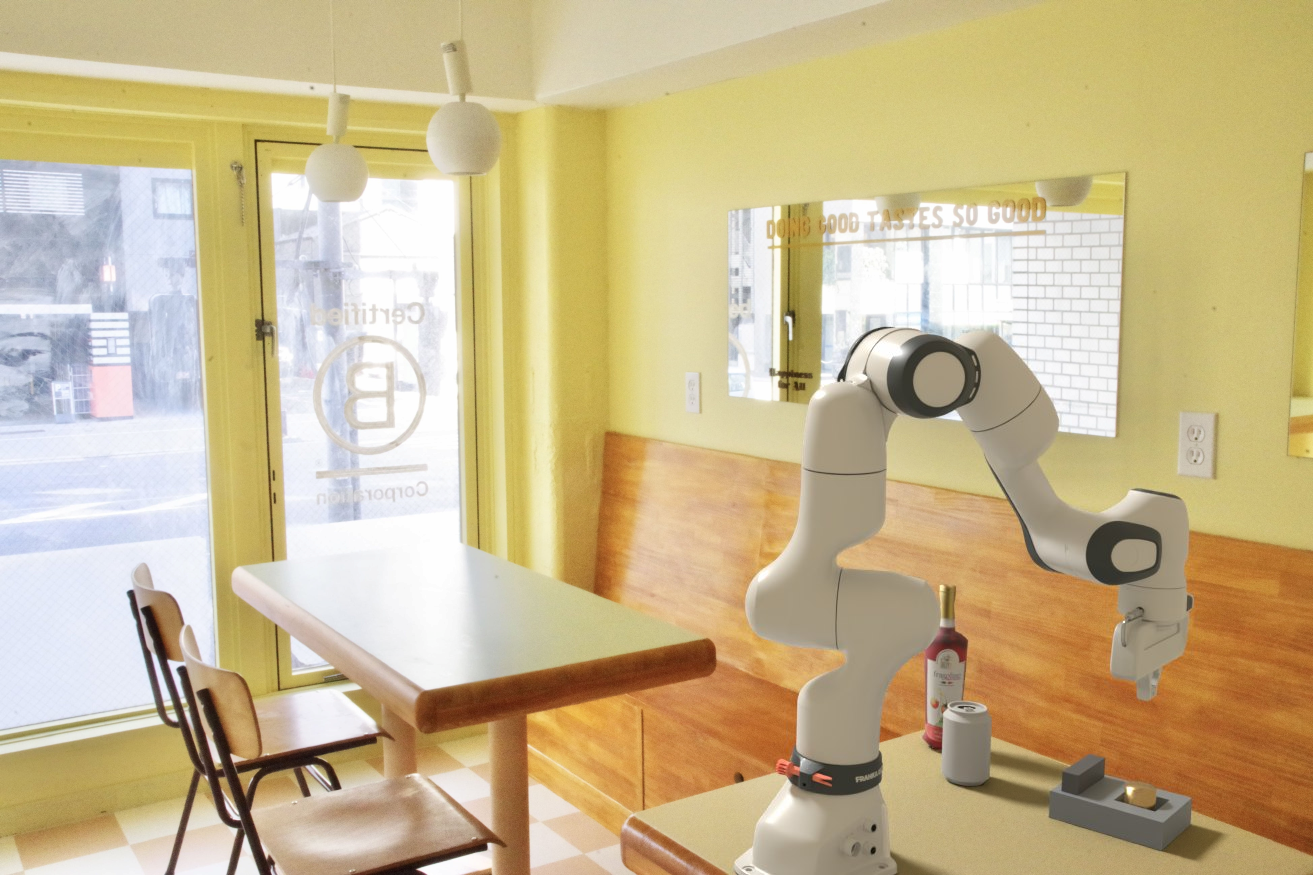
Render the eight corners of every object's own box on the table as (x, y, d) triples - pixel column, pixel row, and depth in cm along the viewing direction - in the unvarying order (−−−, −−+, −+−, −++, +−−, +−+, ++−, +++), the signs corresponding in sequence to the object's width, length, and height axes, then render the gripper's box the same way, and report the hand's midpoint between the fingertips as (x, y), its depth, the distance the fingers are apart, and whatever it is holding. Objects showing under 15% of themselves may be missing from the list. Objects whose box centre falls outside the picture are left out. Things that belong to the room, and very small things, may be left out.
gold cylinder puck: (1148, 835, 161) (1150, 794, 160) (1118, 827, 164) (1120, 786, 163) (1159, 826, 164) (1160, 786, 163) (1129, 818, 167) (1131, 778, 166)
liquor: (923, 752, 193) (928, 589, 191) (918, 737, 200) (923, 581, 198) (967, 754, 192) (973, 591, 190) (960, 739, 199) (966, 582, 197)
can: (984, 771, 185) (987, 699, 184) (993, 789, 177) (996, 713, 176) (937, 768, 185) (940, 697, 184) (944, 786, 178) (947, 711, 177)
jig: (1161, 850, 156) (1164, 801, 155) (1048, 816, 167) (1050, 770, 166) (1190, 824, 165) (1193, 777, 164) (1081, 793, 176) (1083, 749, 175)
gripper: (1147, 618, 151) (1142, 719, 152) (1198, 595, 166) (1193, 687, 167) (1100, 610, 156) (1095, 709, 157) (1153, 588, 171) (1149, 678, 172)
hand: (1146, 697), depth 162 cm, fingers closed
